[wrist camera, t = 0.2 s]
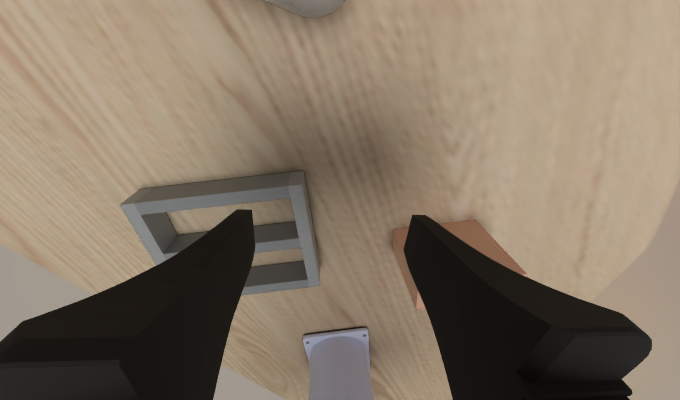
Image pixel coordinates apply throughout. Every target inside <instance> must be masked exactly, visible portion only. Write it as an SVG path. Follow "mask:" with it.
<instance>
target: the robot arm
mask: <svg viewBox="0 0 680 400" xmlns="http://www.w3.org/2000/svg"><path fill="white" fill-rule="evenodd" d="M403 250H404V254H405V258H406V262H407V265H408V268H409V271H410V273H411V276H412V278H413V280H414V283H415V285H416V287H417V290H418V292H419V294H420V297H421V299H422V301H423V303H424V306H425V308H426V310H427V313H428V315H429V318H430V321H431V324H432V327H433V330H434V333H435V336H436V339H437V342H438V346H439V349H440V353H441V356H442V360H443V363H444V367H445V370H446V374H447V378H448V382H449V386H450V390H451V394H452V398H453V400H629V398H628V397H627V396H630V395H631V394H632V390H631V389H630V388H629V387H628V386H627V385H626V384H625V382H624V381H623V380H622V378H623V377H624V376H626V375H627V374H628V373H629V372H630V371H631V370H633V369H634V368H635V367H636V366H637V365H639V364H640V363H641V362H642V361H643V360H644V359H645V358H646V357H647V356H648V355H649V352H650V351H651V349H652V340H651V339H650V337H649V336H648V335H647V334H646V333H645V332H643V331H642V330H641V329H640V328H639V327H638V326H636V325H635V324H634V323H633V322H632V321H631V320H629V319H628V318H627V317H626V316H624V315H623V314H621V313H619V312H616V311H613V310H610V309H607V308H604V307H601V306H598V305H595V304H592V303H589V302H586V301H584V300H581V299H578V298H575V297H573V296H570V295H567V294H565V293H562V292H560V291H557V290H555V289H552V288H550V287H548V286H545V285H543V284H541V283H538V282H536V281H534V280H532V279H530V278H527V277H525V276H523V275H521V274H519V273H517V272H515V271H513V270H511V269H509V268H507V267H505V266H503V265H502V264H500V263H498V262H496V261H494V260H492V259H491V258H489V257H487V256H486V255H484V254H482V253H481V252H479V251H478V250H476V249H474V248H473V247H471V246H470V245H468V244H467V243H465V242H464V241H462V240H461V239H459V238H458V237H456V236H455V235H454V234H452V233H451V232H449V231H448V230H447V229H445V228H444V227H442V226H441V225H439V224H438V223H437V222H435V221H434V220H432V219H431V218H429V217H427V216H426V215H412V219H411V222H410V226H409V230H408V234H407V237H406V241H405V245H404V249H403ZM254 252H255V237H254V227H253V217H252V210H239V209H237V210H236V211H234V212H233V213H232V214H231V215H229V216H228V217H227V218H226V219H224V220H223V221H222V222H221V223H219V224H218V225H217V226H216V227H214V228H213V229H212V230H210V231H209V232H208V233H207V234H205V235H204V236H202V237H201V238H199V239H198V240H197V241H195V242H194V243H192V244H191V245H189V246H188V247H187V248H185V249H184V250H182V251H180V252H179V253H177V254H176V255H174V256H172V257H171V258H169V259H167V260H165V261H164V262H162V263H160V264H159V265H157V266H155V267H153V268H151V269H149V270H147V271H145V272H143V273H141V274H139V275H137V276H135V277H133V278H131V279H129V280H127V281H125V282H123V283H121V284H118V285H116V286H114V287H112V288H109V289H107V290H105V291H102V292H100V293H98V294H95V295H93V296H90V297H88V298H86V299H83V300H81V301H78V302H75V303H73V304H70V305H67V306H64V307H62V308H59V309H57V310H54V311H51V312H48V313H45V314H43V315H40V316H37V317H34V318H31V319H28V320H25V321H23V322H22V323H20V324H19V325H18V326H17V327H16V328H15V329H14V330H13V331H12V332H10V333H9V334H8V335H7V336H6V337H5V338H4V339H3V340H2V341H1V342H0V400H213V397H214V392H215V388H216V383H217V379H218V374H219V370H220V366H221V362H222V358H223V353H224V349H225V345H226V341H227V337H228V333H229V329H230V326H231V322H232V319H233V316H234V313H235V310H236V307H237V305H238V302H239V299H240V297H241V294H242V291H243V288H244V286H245V283H246V280H247V277H248V275H249V272H250V269H251V265H252V261H253V257H254ZM303 343H304V346H305V350H306V354H307V357H308V361H309V365H310V379H309V400H374V394H373V388H372V382H371V376H370V357H369V338H368V329H367V328H358V329H350V330H342V331H334V332H327V333H319V334H311V335H305V336H304V337H303Z"/></svg>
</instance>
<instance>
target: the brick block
mask: <svg viewBox="0 0 680 400" xmlns="http://www.w3.org/2000/svg"><path fill="white" fill-rule="evenodd" d="M439 225H441V226H442V227H444V228H445V229H447V230H448V231H449V232H451V233H452V234H454V235H455V236H456V237H458V238H459V239H461V240H462V241H464V242H465V243H467V244H468V245H470V246H471V247H473V248H474V249H476V250H478V251H479V252H481V253H482V254H484V255H486V256H487V257H489V258H491V259H492V260H494V261H496V262H498V263H500V264H502V265H503V266H505V267H507V268H509V269H511V270H513V271H515V272H517V273H519V274H521V275H523V276H525V277H526V275H527V274H526V272H525V271H524V270H523V269H522V268H521V267H520V266H519V265H518V264H517V263H516V262H515V261H514V260H513V259H512V258H511V257H510V256H509V255H508V253H507V252H506V251H505V250H504V249H503V248H502V247H501V246H500V245H499V244H498V243H497V242H496V241H495V240H494V239H493V238H492V237H491V236H490V234H489V233H488V232H487V231H486V230H485V229H484V228H483V227H482V226H481V225H480V224H479V223H478V222H477V221H476V220H471V221H462V222H454V223H445V224H439ZM408 230H409V228H403V229H394V230H393V251H394V254H395V256H396V259H397V261H398V264H399V267H400V269H401V272H402V274H403V277H404V280H405V282H406V285H407V287H408V290H409V293H410V295H411V298H412V300H413V303H414V306H415V308H416V310H419V309H426V308H425V306H424V303H423V301H422V299H421V297H420V294H419V292H418V290H417V287H416V285H415V283H414V280H413V278H412V276H411V273H410V271H409V268H408V265H407V262H406V258H405V254H404V250H403V249H404V245H405V241H406V237H407V234H408Z"/></svg>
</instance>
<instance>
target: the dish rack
mask: <svg viewBox="0 0 680 400" xmlns="http://www.w3.org/2000/svg"><path fill="white" fill-rule="evenodd" d="M286 198H290V199H291V203H292V208H293V213H294V217H295V222H286V223H278V224H269V225H260V226H253V227H254V237H255V252H254V253H260V252H268V251H277V250H285V249H293V248H301V250H302V255H303V259H304V261H299V262H291V263H282V264H274V265H265V266H257V267H251V269H250V272H249V275H248V277H247V280H246V283H245V286H244V288H243V291H242V294H241V295H249V294H257V293H266V292H274V291H282V290H290V289H298V288H307V287H315V286H320V264H319V258H318V253H317V247H316V241H315V235H314V230H313V224H312V218H311V212H310V207H309V201H308V195H307V189H306V184H305V178H304V172H303V171H296V172H287V173H278V174H269V175H260V176H251V177H242V178H233V179H224V180H215V181H206V182H197V183H188V184H179V185H170V186H161V187H152V188H143V189H140V190H138V191H137V192H136V193H134V194H133V195H132V196H131V197H129V198H128V199H127V200H125V201H124V202H123V203H121V204H120V207H121V208H122V210H123V212H124V213H125V215H126V216H127V218H128V220H129V221H130V223H131V225H132V226H133V228H134V230H135V231H136V233H137V234H138V236H139V238H140V239H141V241H142V243H143V244H144V246H145V247H146V249H147V251H148V252H149V254H150V256H151V257H152V259H153V261H154V262H155V264H156V265H159V264H160V263H162V262H164V261H165V260H167V259H169V258H171V257H172V256H174V255H176V254H177V253H179V252H180V251H182V250H184V249H185V248H187V247H188V246H189V245H191V244H192V243H194V242H195V241H197V240H198V239H199V238H201V237H202V236H204V235H205V234H207V233H208V232H209V231H208V232H200V233H191V234H183V235H177V233H176V231H175V229H174V227H173V225H172V223H171V221H170V219H169V217H168V215H167V213H166V212H172V211H180V210H189V209H198V208H207V207H216V206H224V205H233V204H242V203H251V202H260V201H268V200H277V199H286Z"/></svg>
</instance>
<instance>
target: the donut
mask: <svg viewBox="0 0 680 400" xmlns="http://www.w3.org/2000/svg"><path fill="white" fill-rule="evenodd" d="M264 1H266V2H269V3H271V4H273V5H275V6H278V7H280V8H282V9H285V10H287V11H290V12H292V13H296V14H299V15H302V16H306V17H309V18H316V17H324V16H327V15H329V14H331V13H333V12H334V11H336V10H337V9H338V8H339V7H340V6H341V5H342V4H343V2H344V1H345V0H264Z"/></svg>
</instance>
